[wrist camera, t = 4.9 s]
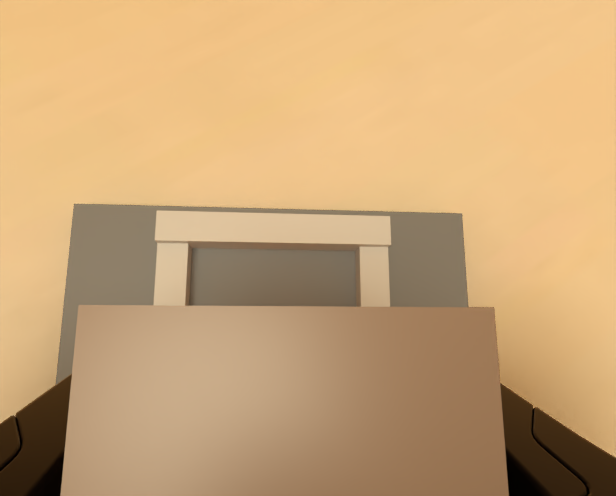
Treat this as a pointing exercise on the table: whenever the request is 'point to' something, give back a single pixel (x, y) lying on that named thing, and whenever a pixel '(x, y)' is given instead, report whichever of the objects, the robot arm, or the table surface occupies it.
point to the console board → (258, 260)
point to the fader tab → (285, 402)
